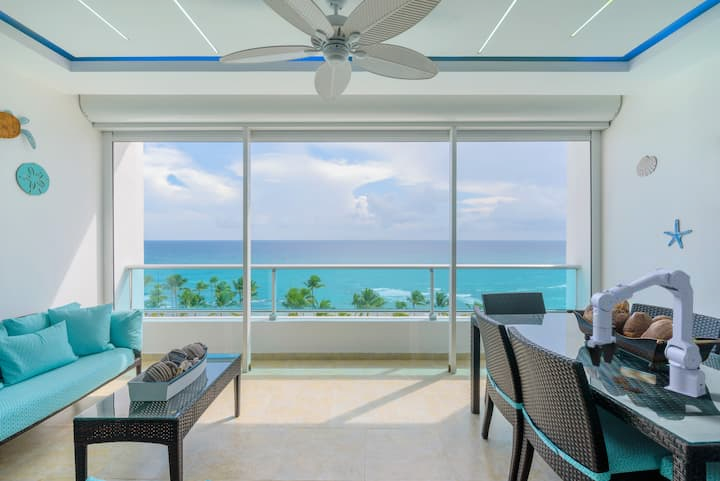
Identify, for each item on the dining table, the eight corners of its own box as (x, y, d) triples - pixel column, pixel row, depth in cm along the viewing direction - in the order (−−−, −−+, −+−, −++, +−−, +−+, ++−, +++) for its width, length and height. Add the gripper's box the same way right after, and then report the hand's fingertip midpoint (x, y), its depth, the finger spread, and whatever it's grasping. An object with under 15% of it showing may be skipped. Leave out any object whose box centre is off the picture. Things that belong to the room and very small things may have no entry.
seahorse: (629, 392, 140) (629, 387, 140) (608, 378, 155) (608, 373, 155) (645, 394, 140) (646, 389, 140) (622, 380, 154) (623, 375, 154)
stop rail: (656, 383, 148) (656, 375, 148) (654, 384, 148) (654, 375, 148) (622, 374, 159) (622, 366, 159) (620, 374, 159) (620, 366, 159)
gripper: (602, 322, 149) (601, 358, 149) (579, 326, 142) (579, 364, 142) (622, 326, 143) (621, 363, 143) (599, 330, 136) (599, 370, 136)
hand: (601, 364), depth 142 cm, fingers open, 7 cm apart
